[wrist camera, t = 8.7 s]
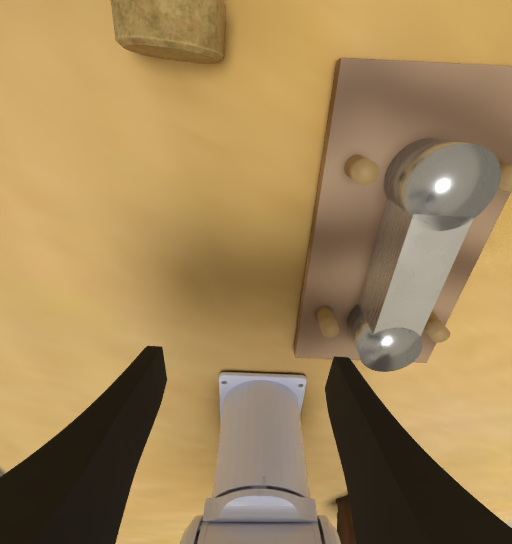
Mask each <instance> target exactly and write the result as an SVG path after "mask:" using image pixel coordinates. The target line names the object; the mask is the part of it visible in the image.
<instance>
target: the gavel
mask: <svg viewBox="0 0 512 544" xmlns="http://www.w3.org/2000/svg"><path fill="white" fill-rule="evenodd" d="M111 5H112V13H113V22H114V30H115V38H116V41H117V42H118V43H119V44H120V45H121V46H122V47H123V48H124V49H127V50H129V51H132V52H135V53H139V54H143V55H147V56H151V57H157V58H162V59H168V60H177V61H185V62H194V63H216V62H218V61H220V60H221V59H222V58H223V57H224V34H225V3H224V1H223V0H111Z"/></svg>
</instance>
